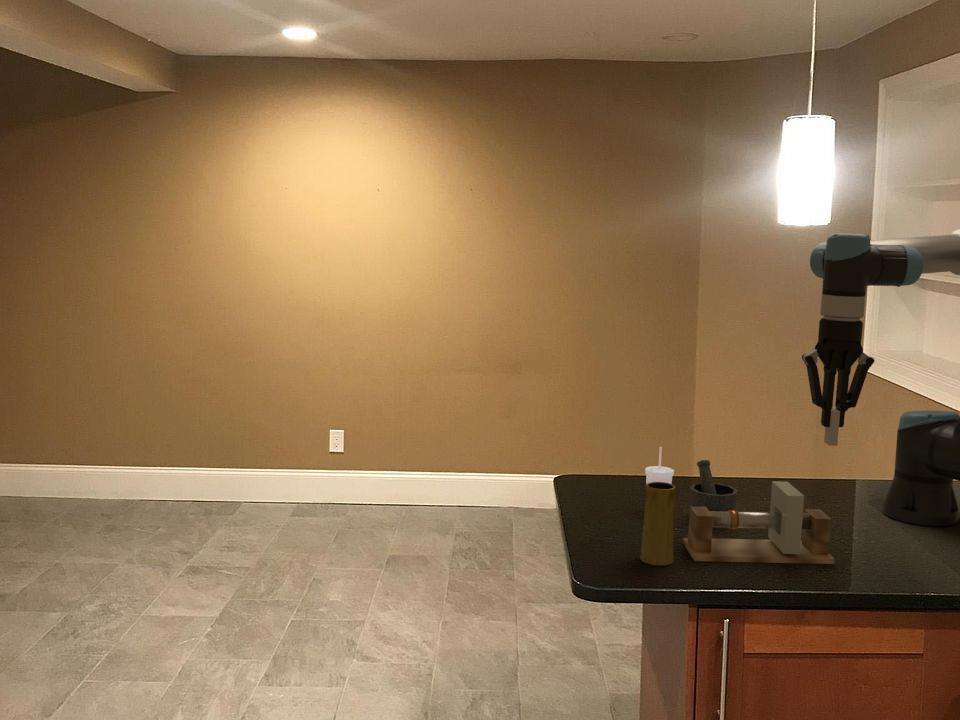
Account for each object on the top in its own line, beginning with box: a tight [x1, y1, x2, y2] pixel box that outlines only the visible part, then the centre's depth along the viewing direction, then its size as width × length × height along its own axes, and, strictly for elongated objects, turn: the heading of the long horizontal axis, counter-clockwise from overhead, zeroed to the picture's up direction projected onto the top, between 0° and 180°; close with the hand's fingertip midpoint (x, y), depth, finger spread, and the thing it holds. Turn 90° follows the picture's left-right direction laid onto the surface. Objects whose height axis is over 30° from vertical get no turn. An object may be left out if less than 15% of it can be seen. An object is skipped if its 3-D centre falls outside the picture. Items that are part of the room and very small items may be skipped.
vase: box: [639, 482, 676, 567], centre depth 180 cm, size 6×6×14 cm
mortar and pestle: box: [689, 459, 739, 511], centre depth 205 cm, size 11×9×12 cm
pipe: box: [709, 509, 812, 530], centre depth 185 cm, size 23×4×4 cm, turn 91°
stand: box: [682, 505, 836, 565], centre depth 186 cm, size 26×10×8 cm, turn 91°
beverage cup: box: [644, 446, 675, 486], centre depth 211 cm, size 6×6×14 cm
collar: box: [767, 481, 805, 554], centre depth 185 cm, size 3×10×11 cm, turn 1°
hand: (830, 443), depth 183 cm, fingers closed
